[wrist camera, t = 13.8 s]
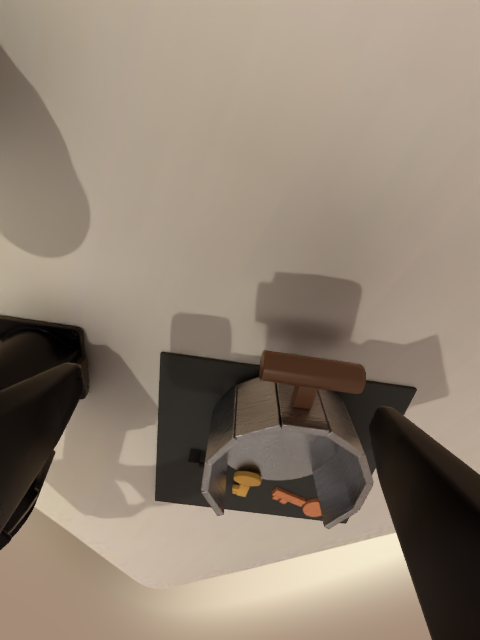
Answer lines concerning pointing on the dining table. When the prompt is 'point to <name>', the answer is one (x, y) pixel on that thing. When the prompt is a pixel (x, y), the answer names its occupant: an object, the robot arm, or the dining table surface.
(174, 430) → the mat
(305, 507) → the copper key
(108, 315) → the dining table surface
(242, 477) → the brass key
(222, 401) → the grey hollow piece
